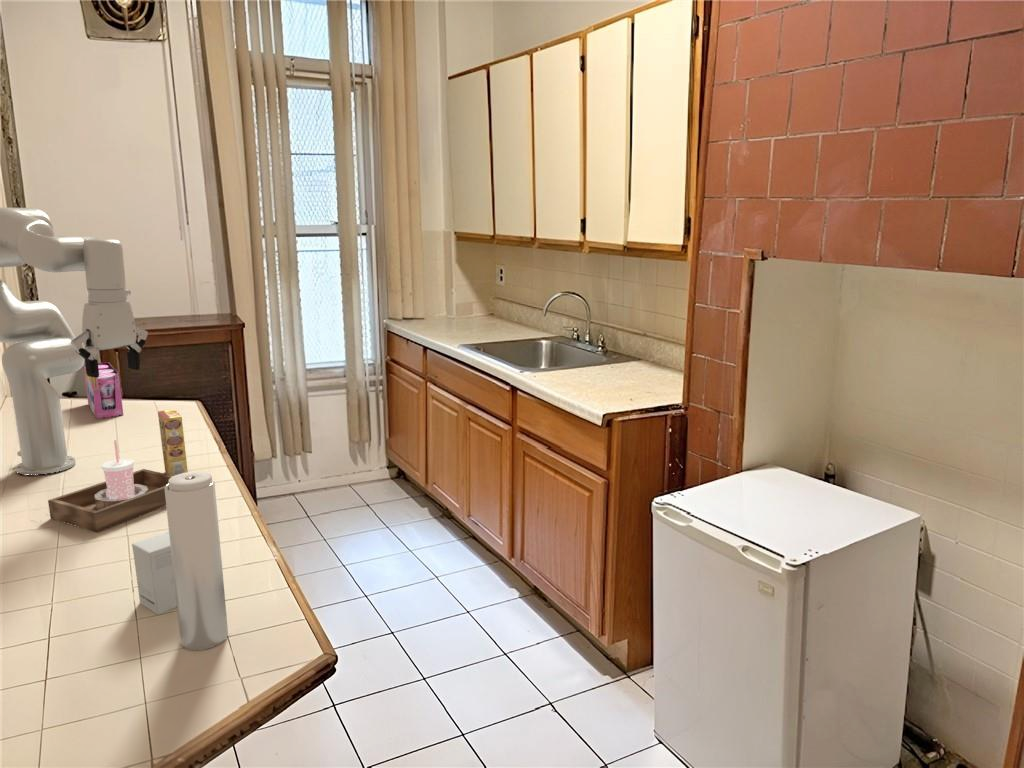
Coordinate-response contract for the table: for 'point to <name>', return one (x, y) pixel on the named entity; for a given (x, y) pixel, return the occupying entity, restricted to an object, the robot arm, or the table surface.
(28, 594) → the table surface
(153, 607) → the skincare box
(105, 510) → the walnut box
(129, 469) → the beverage cup
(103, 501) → the socket ring
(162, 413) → the candy box
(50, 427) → the robot arm
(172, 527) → the white tall cylinder
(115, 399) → the gum box
